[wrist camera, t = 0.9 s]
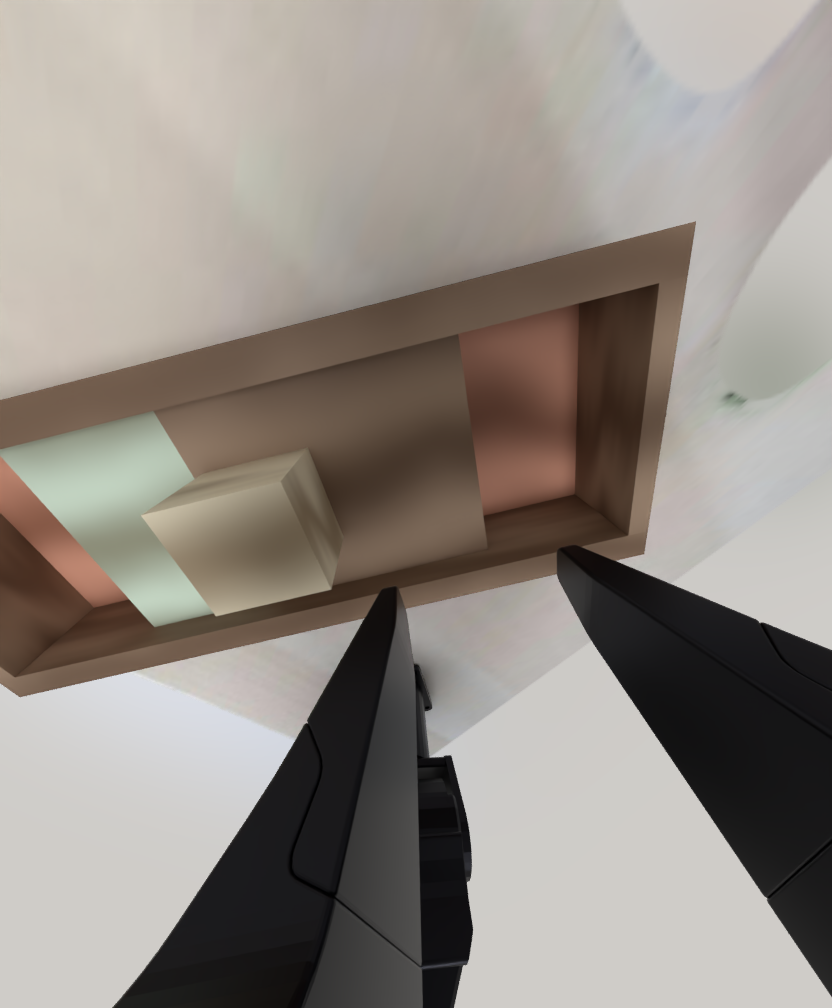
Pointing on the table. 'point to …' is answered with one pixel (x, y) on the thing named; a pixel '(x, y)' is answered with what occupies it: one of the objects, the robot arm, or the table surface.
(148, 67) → the table surface
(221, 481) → the maple block
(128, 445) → the tray
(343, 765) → the robot arm
